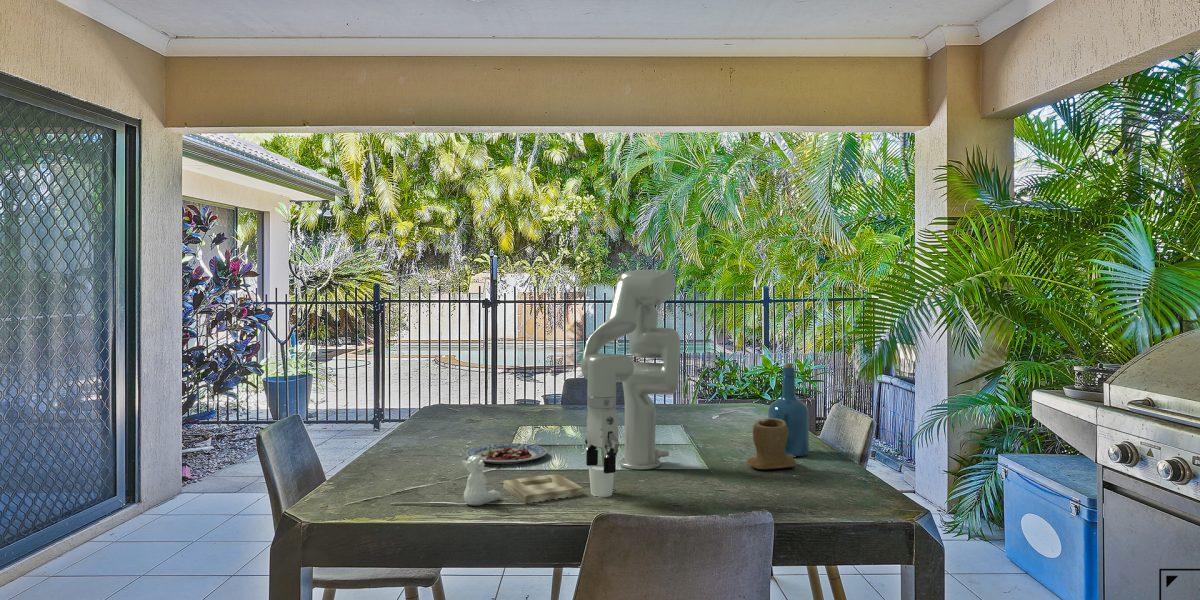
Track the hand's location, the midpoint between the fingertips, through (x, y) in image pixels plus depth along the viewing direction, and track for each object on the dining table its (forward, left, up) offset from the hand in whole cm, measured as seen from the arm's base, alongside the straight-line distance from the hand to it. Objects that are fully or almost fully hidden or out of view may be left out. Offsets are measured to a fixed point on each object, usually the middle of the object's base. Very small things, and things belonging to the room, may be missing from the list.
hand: (600, 468), depth 178 cm
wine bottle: (-78, -14, -7) cm, 79 cm away
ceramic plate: (+7, -51, -7) cm, 52 cm away
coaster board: (+12, -10, -7) cm, 17 cm away
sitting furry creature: (+30, -9, -7) cm, 32 cm away
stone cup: (-60, -1, -7) cm, 60 cm away
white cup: (-1, -1, -7) cm, 7 cm away
